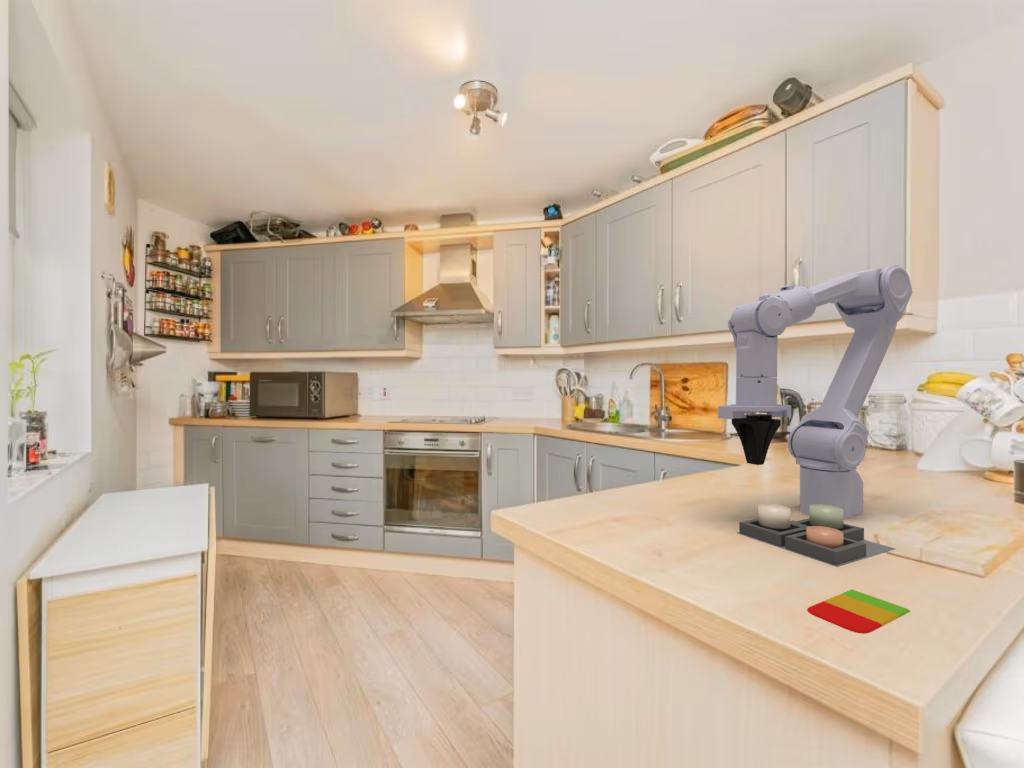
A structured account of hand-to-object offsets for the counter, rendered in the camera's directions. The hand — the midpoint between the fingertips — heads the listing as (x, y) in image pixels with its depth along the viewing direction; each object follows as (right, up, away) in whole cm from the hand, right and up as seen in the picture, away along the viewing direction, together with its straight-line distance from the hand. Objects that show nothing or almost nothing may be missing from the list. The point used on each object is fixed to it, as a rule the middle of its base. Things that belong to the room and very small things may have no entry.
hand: (755, 463), depth 73 cm
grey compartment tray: (+4, -11, -8) cm, 14 cm away
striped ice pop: (-2, -11, -27) cm, 29 cm away
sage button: (+7, -8, -7) cm, 12 cm away
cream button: (-1, -8, -6) cm, 10 cm away
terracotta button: (+2, -9, -13) cm, 16 cm away
